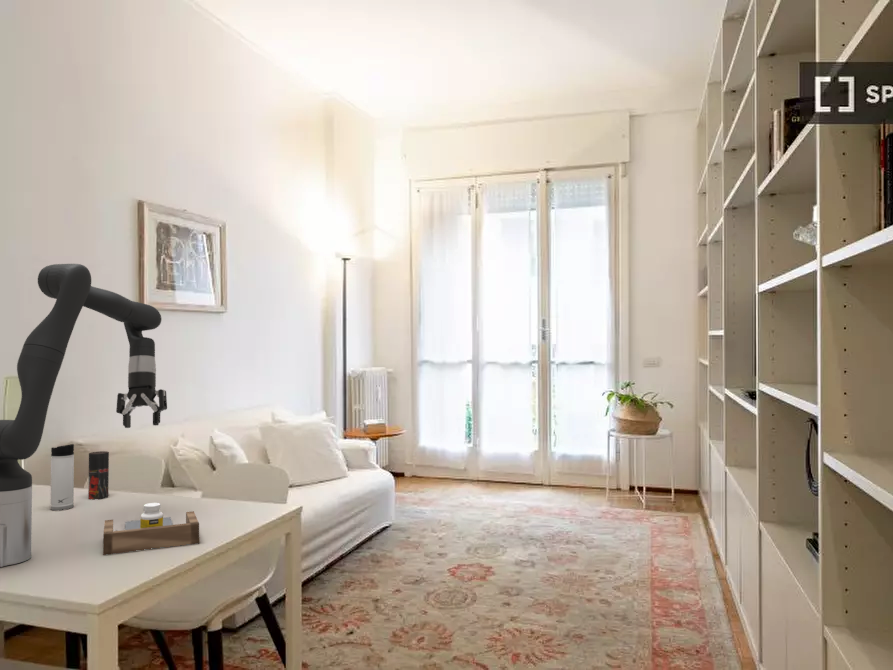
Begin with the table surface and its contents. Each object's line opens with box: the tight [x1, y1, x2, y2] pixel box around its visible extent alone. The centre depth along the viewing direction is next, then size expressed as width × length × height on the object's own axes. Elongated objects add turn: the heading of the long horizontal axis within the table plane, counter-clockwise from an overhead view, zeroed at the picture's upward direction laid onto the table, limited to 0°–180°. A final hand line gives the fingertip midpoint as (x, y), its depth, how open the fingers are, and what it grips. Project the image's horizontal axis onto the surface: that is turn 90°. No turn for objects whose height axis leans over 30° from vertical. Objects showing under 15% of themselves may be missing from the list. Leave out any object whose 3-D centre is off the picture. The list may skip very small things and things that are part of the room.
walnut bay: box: [102, 510, 200, 556], centre depth 173 cm, size 14×22×5 cm, turn 116°
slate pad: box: [124, 516, 174, 530], centre depth 188 cm, size 12×12×1 cm
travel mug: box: [50, 443, 75, 511], centre depth 208 cm, size 6×7×20 cm
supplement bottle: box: [139, 502, 164, 528], centre depth 173 cm, size 5×5×10 cm
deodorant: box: [87, 450, 110, 501], centre depth 223 cm, size 6×6×15 cm
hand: (141, 426), depth 197 cm, fingers open, 8 cm apart
